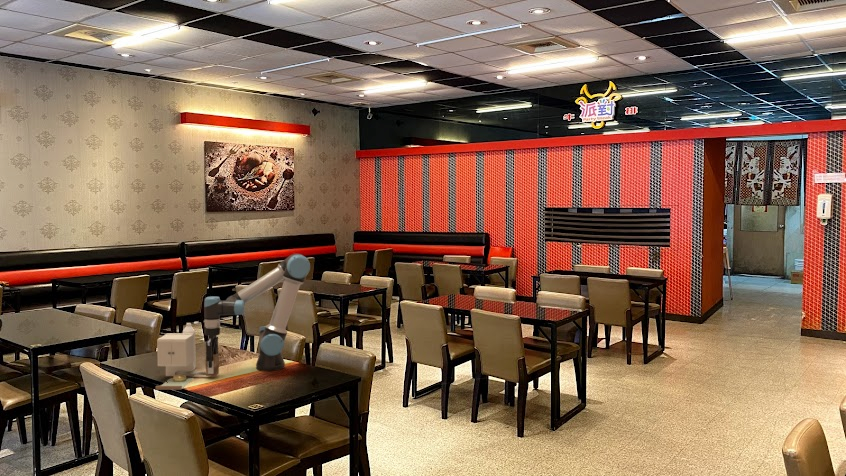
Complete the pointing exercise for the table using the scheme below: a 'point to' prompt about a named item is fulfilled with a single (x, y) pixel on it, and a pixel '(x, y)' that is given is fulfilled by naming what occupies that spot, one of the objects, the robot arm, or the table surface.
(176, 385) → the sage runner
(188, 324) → the water bottle
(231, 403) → the table surface
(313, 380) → the table surface
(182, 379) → the brass puck
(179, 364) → the wall cabinet
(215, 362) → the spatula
